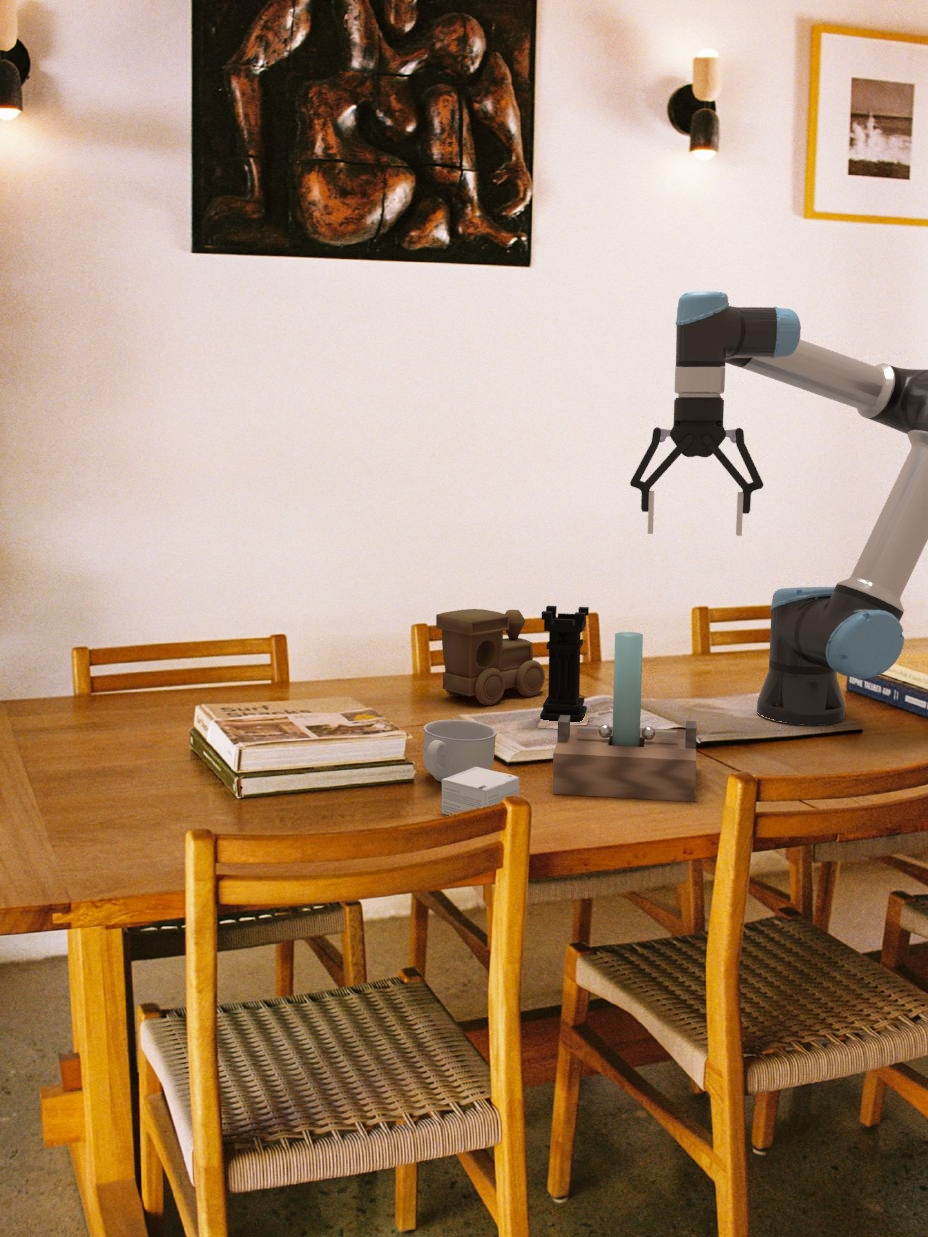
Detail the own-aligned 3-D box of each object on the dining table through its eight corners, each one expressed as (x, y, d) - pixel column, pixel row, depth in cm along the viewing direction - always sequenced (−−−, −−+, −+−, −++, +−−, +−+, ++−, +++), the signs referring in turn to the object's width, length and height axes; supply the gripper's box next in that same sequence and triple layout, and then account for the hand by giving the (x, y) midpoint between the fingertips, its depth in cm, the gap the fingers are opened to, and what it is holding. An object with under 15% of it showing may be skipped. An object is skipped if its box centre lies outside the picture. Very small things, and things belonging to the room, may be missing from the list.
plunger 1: (612, 736, 185) (612, 723, 185) (611, 740, 183) (611, 726, 183) (577, 734, 186) (578, 721, 186) (576, 738, 184) (576, 725, 184)
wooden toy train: (472, 711, 225) (473, 620, 222) (432, 700, 234) (431, 612, 231) (551, 694, 238) (552, 608, 235) (509, 684, 247) (510, 600, 244)
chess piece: (584, 730, 212) (586, 614, 209) (537, 728, 214) (538, 612, 210) (588, 719, 220) (591, 606, 217) (543, 716, 222) (545, 605, 218)
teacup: (454, 764, 193) (455, 714, 192) (510, 778, 186) (511, 726, 185) (393, 786, 182) (393, 732, 181) (450, 801, 176) (450, 746, 174)
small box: (475, 800, 177) (476, 765, 176) (520, 812, 172) (520, 776, 171) (440, 814, 171) (440, 778, 170) (485, 827, 166) (485, 789, 165)
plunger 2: (676, 739, 184) (677, 726, 183) (676, 743, 182) (677, 729, 181) (641, 737, 184) (642, 724, 184) (641, 741, 182) (641, 728, 182)
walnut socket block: (693, 768, 191) (695, 711, 189) (694, 801, 176) (697, 739, 174) (562, 761, 194) (563, 705, 193) (552, 793, 179) (553, 732, 177)
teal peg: (639, 777, 187) (643, 632, 183) (638, 785, 183) (642, 637, 179) (612, 776, 187) (615, 631, 183) (610, 784, 183) (614, 636, 179)
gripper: (780, 396, 194) (774, 532, 197) (618, 395, 198) (615, 529, 201) (784, 396, 186) (778, 538, 190) (616, 395, 190) (612, 534, 194)
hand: (694, 534), depth 196 cm, fingers open, 13 cm apart
